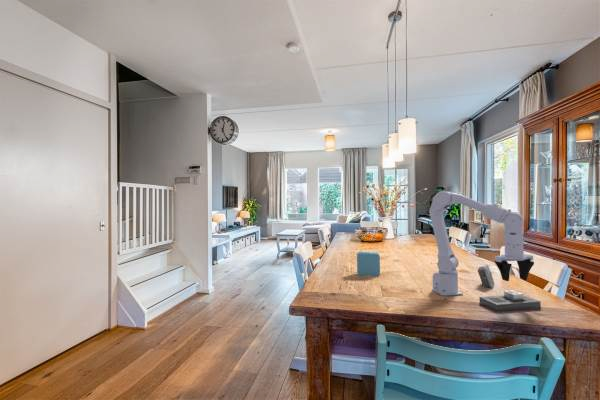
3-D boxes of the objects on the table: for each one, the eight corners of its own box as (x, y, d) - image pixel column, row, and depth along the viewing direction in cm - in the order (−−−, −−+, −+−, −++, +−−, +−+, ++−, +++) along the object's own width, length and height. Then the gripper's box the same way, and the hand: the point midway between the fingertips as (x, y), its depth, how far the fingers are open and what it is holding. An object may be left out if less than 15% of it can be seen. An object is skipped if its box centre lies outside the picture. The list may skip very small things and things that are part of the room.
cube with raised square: (513, 307, 103) (513, 294, 103) (504, 303, 107) (504, 290, 107) (523, 307, 104) (522, 293, 104) (513, 303, 108) (513, 289, 108)
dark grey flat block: (497, 311, 100) (496, 304, 100) (479, 303, 108) (479, 296, 108) (540, 308, 102) (540, 301, 102) (520, 300, 110) (520, 294, 110)
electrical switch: (493, 288, 125) (490, 268, 126) (479, 287, 128) (476, 267, 129) (494, 283, 133) (492, 264, 133) (481, 283, 136) (479, 263, 136)
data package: (379, 274, 153) (379, 252, 153) (380, 276, 148) (379, 253, 148) (357, 273, 155) (357, 251, 155) (357, 275, 151) (356, 253, 151)
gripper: (505, 246, 101) (506, 284, 101) (540, 245, 103) (541, 281, 103) (490, 243, 108) (490, 278, 108) (523, 242, 110) (523, 276, 110)
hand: (514, 279), depth 106 cm, fingers open, 7 cm apart
